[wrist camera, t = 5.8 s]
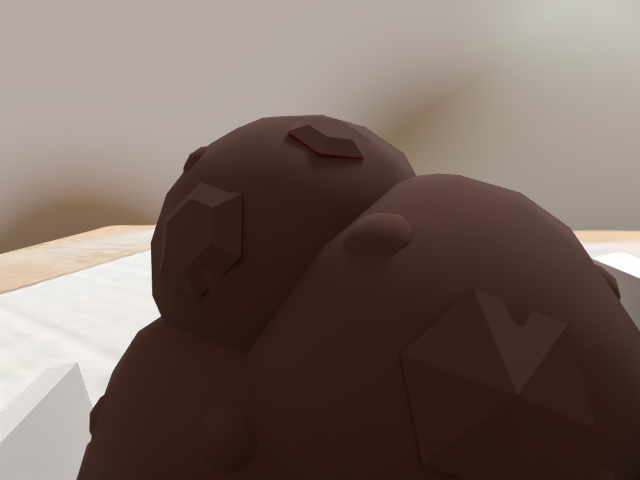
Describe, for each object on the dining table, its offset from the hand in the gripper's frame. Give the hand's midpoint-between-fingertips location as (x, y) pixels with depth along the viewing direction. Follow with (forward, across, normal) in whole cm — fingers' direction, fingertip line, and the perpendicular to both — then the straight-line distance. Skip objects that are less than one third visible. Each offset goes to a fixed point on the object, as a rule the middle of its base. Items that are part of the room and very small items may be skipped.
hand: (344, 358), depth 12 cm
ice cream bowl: (-3, 0, -9) cm, 9 cm away
